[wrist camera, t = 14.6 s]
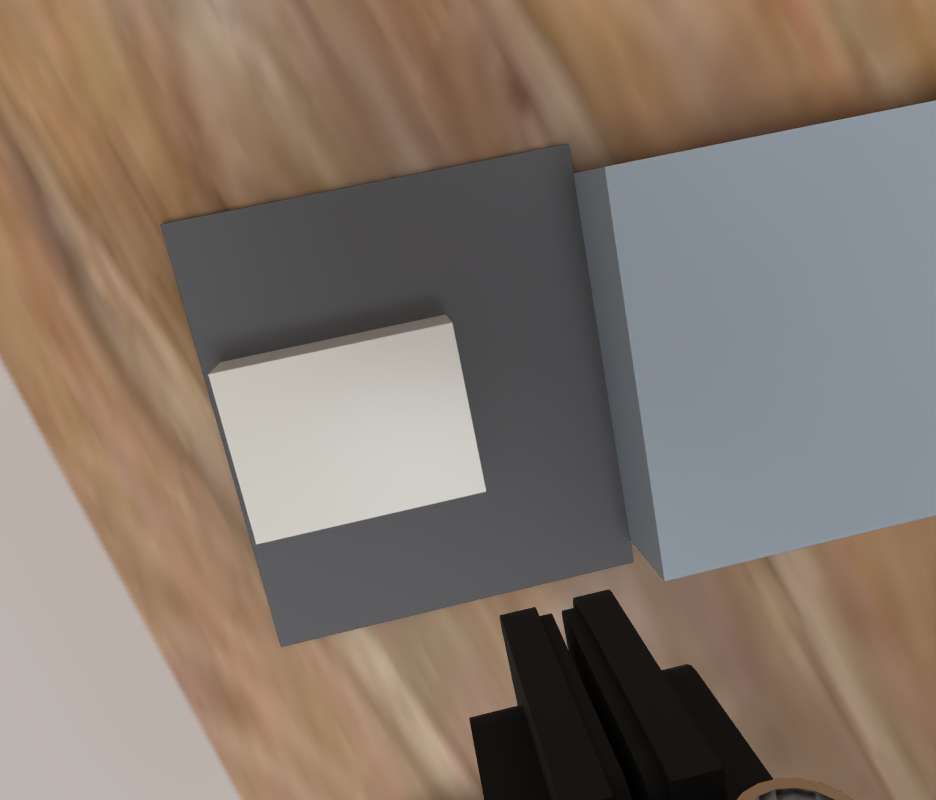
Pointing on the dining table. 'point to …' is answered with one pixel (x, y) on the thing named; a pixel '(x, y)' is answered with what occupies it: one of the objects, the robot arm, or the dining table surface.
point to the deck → (769, 336)
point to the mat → (482, 361)
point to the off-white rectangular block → (349, 428)
